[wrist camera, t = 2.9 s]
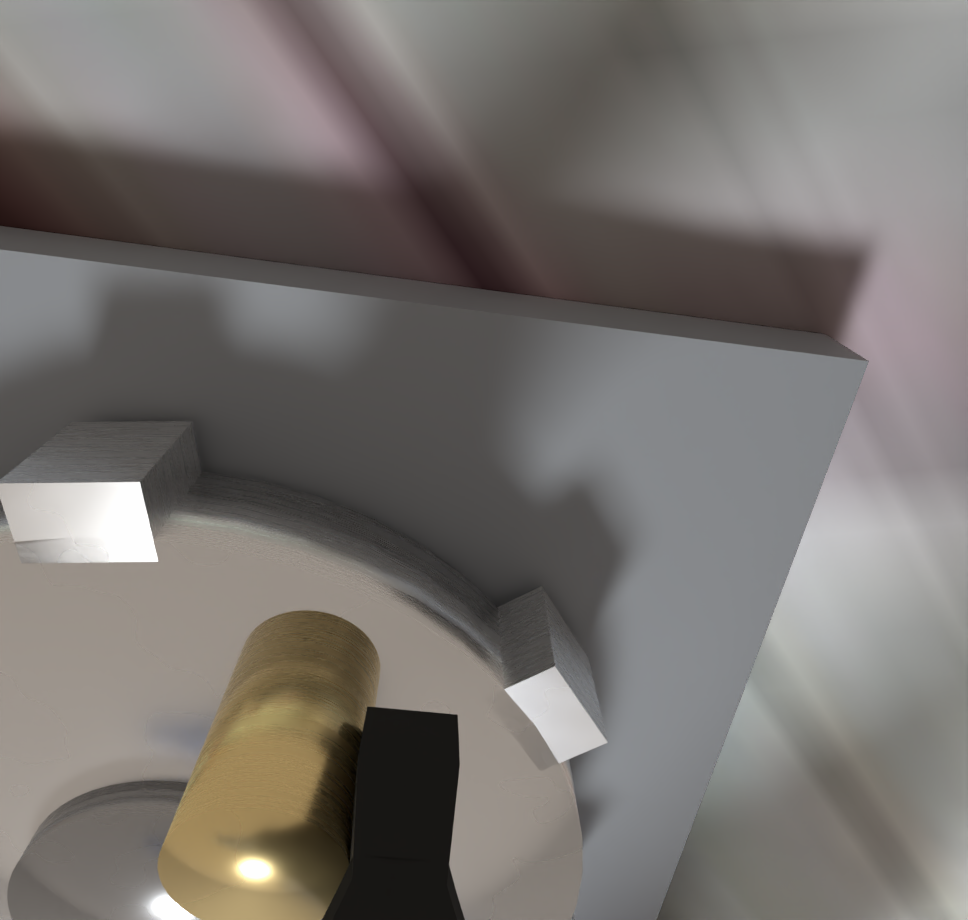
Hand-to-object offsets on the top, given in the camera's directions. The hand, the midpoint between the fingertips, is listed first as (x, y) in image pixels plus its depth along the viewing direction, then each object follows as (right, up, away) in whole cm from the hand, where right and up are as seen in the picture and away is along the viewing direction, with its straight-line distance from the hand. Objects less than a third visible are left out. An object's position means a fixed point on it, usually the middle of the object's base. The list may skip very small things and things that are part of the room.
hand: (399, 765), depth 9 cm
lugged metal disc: (-4, -2, +5) cm, 7 cm away
